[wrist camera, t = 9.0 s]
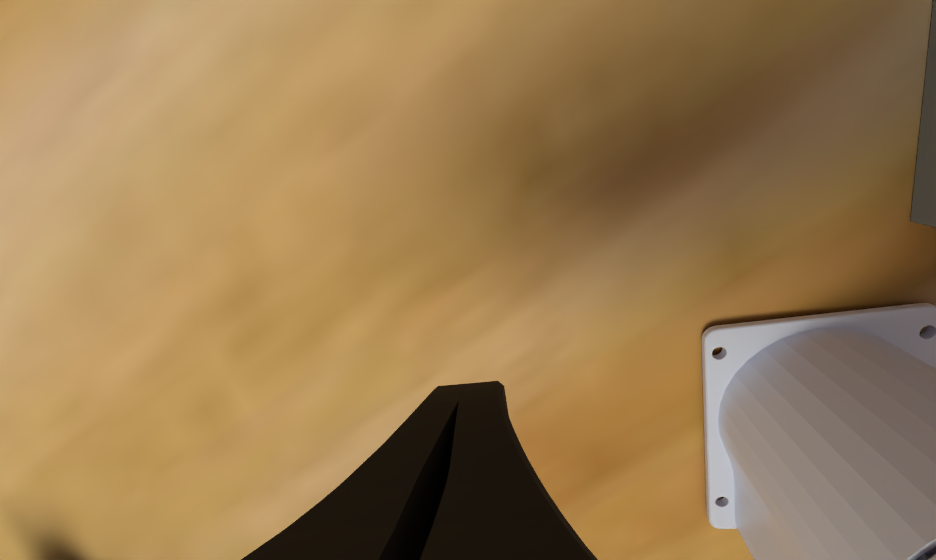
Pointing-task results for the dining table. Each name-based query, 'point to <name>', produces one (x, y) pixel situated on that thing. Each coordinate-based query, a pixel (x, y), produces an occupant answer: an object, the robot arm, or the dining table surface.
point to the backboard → (927, 142)
